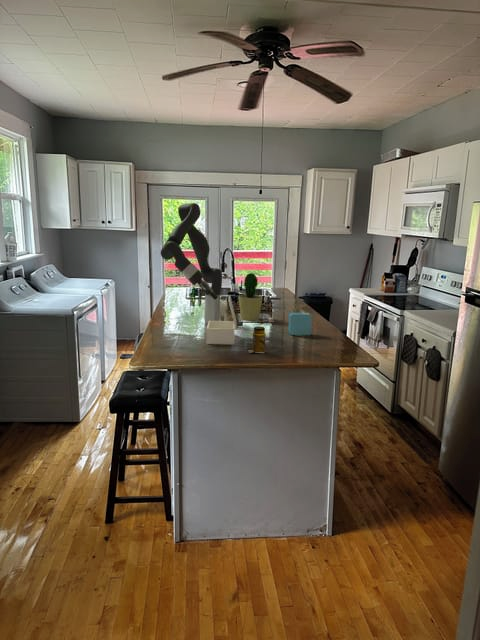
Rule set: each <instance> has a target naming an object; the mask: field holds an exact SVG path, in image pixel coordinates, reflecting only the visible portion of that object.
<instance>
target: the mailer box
mask: <svg viewBox="0 0 480 640" xmlns="http://www.w3.org/2000/svg"><path fill="white" fill-rule="evenodd" d="M235 333H236V331H235V325H234V321H233V320H220V321H209V322H208V323H207V326H206V344H207V345H235V336H236V335H235Z"/></svg>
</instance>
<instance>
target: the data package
mask: <svg viewBox="0 0 480 640" xmlns="http://www.w3.org/2000/svg"><path fill="white" fill-rule="evenodd" d="M312 325H313V316H312V314H310V312H291V313H289V315H288V333H289V335H291V336H292V335H295V336H298V337H299V336H300V337H301V336H302V335H309V336H311V334H312V328H313V327H312ZM302 337H303V336H302Z"/></svg>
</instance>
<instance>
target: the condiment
mask: <svg viewBox="0 0 480 640" xmlns="http://www.w3.org/2000/svg"><path fill="white" fill-rule="evenodd" d="M265 330H266V328H265V326H254V327H253V333H252V346H251V347H252V348H251V349H252V350H253V351H254V352H264V351H265V352H266V331H265Z"/></svg>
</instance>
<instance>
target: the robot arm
mask: <svg viewBox="0 0 480 640" xmlns="http://www.w3.org/2000/svg"><path fill="white" fill-rule="evenodd" d="M177 211H178V212H177V213H178V216H179V219H180V223H178V224H177V225H176V226H174V228H173V229H172V231H171V233H170V235H169V237H168V238H167V240H166V242H165V243H164V245H163V246H162V248H161V249H160V256H161V257H162V259H163V260H165V261H170V260H171V259H174V260H175V262H174V266H175V268H177V269H178V271H180V273H181V274H182V276H184V277H185V278H186V279H187V281H188V282H190V283H191V285H192V286H196V285H197V284H198V287H199V289H201V291H203V292H204V323H206V324H208V322H209V321H221V292H222V286H223V285H222V284H223V273H222V272H223V271H222V270H221V268H217V267H216V268H215V267H211V266H210V264H209V260H208V258H209V255H210V250H211V249H210V244H209V242H208V239H207V237H206V236H205V234H203V233H202V232H201V231H200V230H199V229H198V228H197V227H196V226H195V224H196V223H197V221H198V220H199V219H200V217H201V207H200V206H199V204H198V203H196V202H190V203H183V204H179V206H178V208H177ZM186 235H187V237H188V239H189V241H190V245H191V247H192V250H193V252H194V254H195V257H196V260H197V263H198V266H199V268H198V267H196V265H194V264H193V263H192V262H191V261H190V260H189V259H188V258H187V257H186V255H185V254H184V251H183V250H182V248H181V247H180V246H181V244H182V243H183V241H184V239H185V238H186ZM209 284H211V286H210V285H209Z"/></svg>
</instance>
